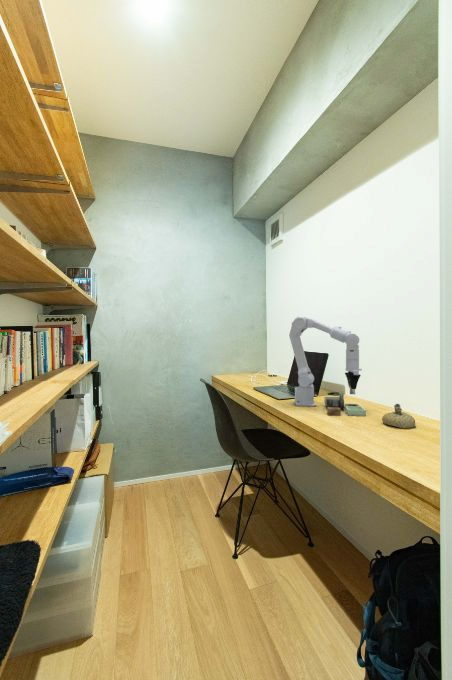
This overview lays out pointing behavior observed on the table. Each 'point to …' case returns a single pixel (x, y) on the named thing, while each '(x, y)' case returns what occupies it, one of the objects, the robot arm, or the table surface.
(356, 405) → the grey square frame
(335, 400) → the cart
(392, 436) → the table surface
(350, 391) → the pin
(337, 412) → the brown rectangular block
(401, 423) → the acorn cap
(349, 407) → the tray
